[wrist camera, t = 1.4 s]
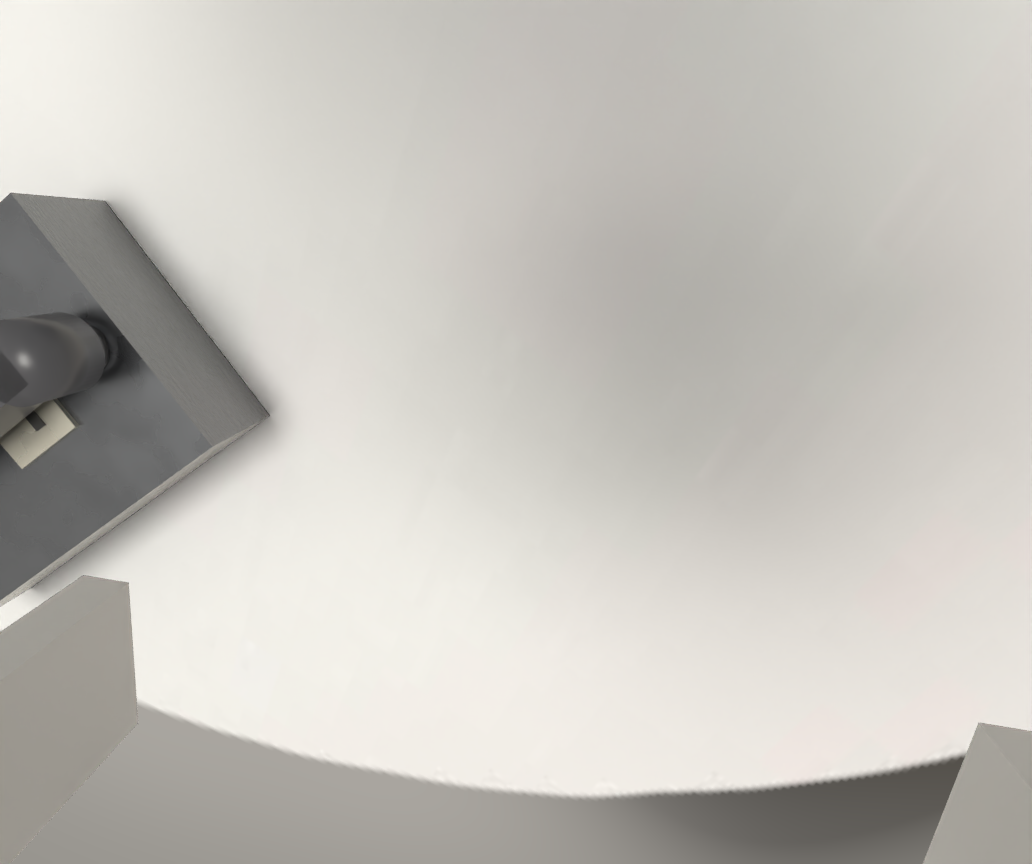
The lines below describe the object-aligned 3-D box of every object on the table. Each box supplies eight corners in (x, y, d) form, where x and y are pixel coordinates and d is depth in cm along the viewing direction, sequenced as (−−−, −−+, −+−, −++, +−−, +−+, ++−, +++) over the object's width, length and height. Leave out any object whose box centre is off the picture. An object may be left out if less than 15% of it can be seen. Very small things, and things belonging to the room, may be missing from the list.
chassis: (-129, 410, 40) (-269, 443, 34) (104, 200, 35) (-7, 191, 29) (29, 588, 43) (-73, 651, 36) (269, 415, 38) (201, 452, 31)
